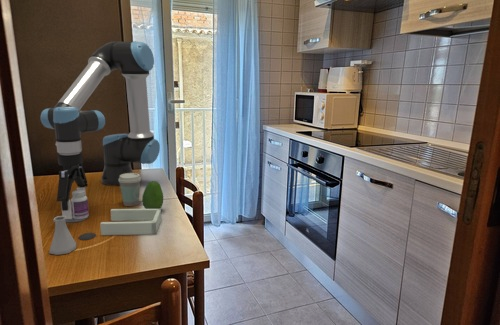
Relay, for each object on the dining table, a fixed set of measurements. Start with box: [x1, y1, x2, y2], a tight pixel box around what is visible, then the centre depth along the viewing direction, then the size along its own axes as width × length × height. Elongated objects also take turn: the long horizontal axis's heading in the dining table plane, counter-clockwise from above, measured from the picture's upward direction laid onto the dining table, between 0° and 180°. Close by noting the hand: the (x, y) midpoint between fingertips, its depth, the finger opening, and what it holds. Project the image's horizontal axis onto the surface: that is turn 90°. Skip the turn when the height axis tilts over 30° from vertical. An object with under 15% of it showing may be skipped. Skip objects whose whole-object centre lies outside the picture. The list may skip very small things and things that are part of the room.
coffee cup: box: [118, 172, 142, 207], centre depth 133 cm, size 8×8×12 cm
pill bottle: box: [70, 189, 90, 219], centre depth 118 cm, size 5×5×10 cm
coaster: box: [65, 216, 89, 224], centre depth 119 cm, size 8×8×1 cm
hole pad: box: [78, 232, 97, 241], centre depth 105 cm, size 5×5×1 cm
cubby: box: [100, 208, 162, 236], centre depth 113 cm, size 12×17×4 cm
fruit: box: [141, 180, 164, 209], centre depth 126 cm, size 8×8×12 cm
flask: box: [48, 215, 78, 256], centre depth 96 cm, size 7×7×10 cm
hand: (75, 210), depth 118 cm, fingers open, 13 cm apart
